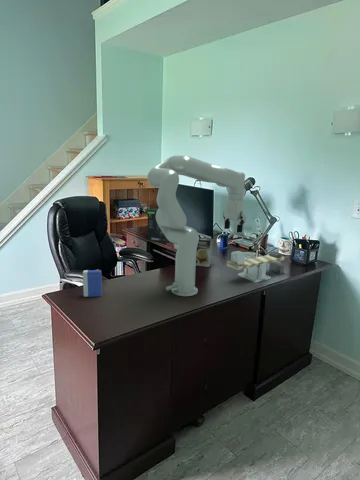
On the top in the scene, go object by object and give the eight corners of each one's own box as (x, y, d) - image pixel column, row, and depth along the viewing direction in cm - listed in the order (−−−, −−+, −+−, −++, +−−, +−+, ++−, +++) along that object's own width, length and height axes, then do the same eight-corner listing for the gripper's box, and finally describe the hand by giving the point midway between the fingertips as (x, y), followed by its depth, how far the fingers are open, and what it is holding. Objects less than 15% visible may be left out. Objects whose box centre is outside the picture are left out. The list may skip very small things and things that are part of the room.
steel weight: (237, 265, 172) (238, 254, 170) (230, 263, 176) (231, 252, 174) (244, 264, 175) (245, 253, 173) (237, 261, 179) (238, 250, 177)
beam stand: (255, 282, 176) (256, 266, 174) (237, 275, 187) (238, 259, 184) (287, 274, 190) (288, 259, 188) (269, 268, 201) (270, 253, 198)
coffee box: (194, 265, 201) (195, 239, 198) (196, 262, 207) (197, 236, 204) (209, 267, 199) (210, 240, 195) (210, 264, 205) (212, 238, 202)
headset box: (146, 240, 258) (147, 207, 252) (152, 237, 269) (153, 205, 263) (175, 243, 252) (175, 209, 246) (179, 240, 263) (180, 207, 257)
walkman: (102, 294, 156) (101, 269, 153) (101, 296, 153) (100, 271, 150) (84, 294, 155) (83, 269, 152) (83, 296, 152) (82, 271, 149)
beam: (237, 271, 170) (237, 263, 169) (226, 267, 177) (227, 259, 176) (284, 261, 190) (285, 254, 189) (273, 257, 197) (273, 250, 196)
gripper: (219, 195, 175) (216, 227, 179) (241, 199, 160) (238, 234, 164) (230, 195, 179) (227, 226, 182) (253, 198, 164) (250, 233, 168)
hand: (233, 230), depth 173 cm, fingers open, 9 cm apart
